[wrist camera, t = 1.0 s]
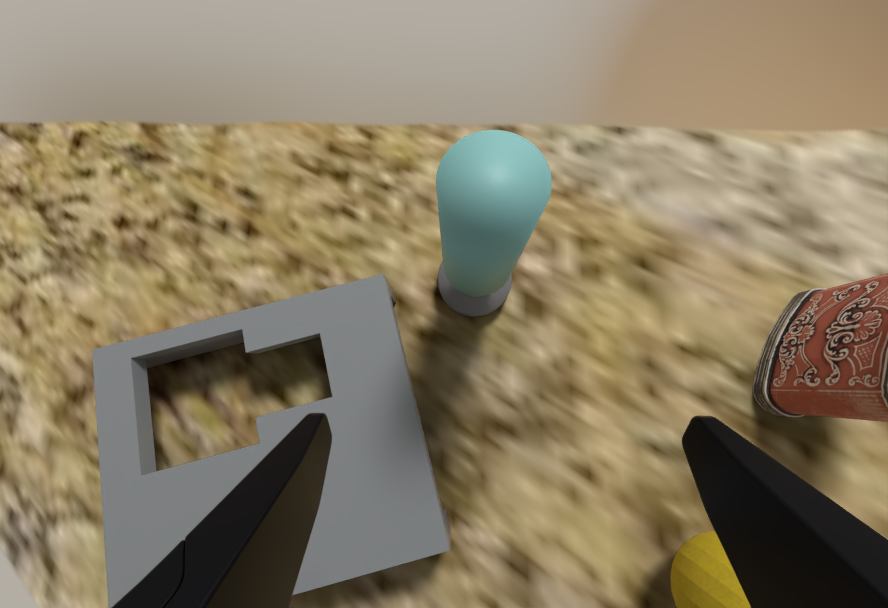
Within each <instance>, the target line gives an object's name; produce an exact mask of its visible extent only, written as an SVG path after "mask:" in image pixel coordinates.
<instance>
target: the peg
mask: <svg viewBox="0 0 888 608" xmlns="http://www.w3.org/2000/svg"><path fill="white" fill-rule="evenodd" d="M436 187H437V198H438V210H439V221H440V233H441V244H442V256H443V261H442V263H441V265H440V268H439V272H438V285H439V290H440V294H441V296H442V298H443V300H444V302H445V303H446V304H447V305H448V306H449V307H450V308H451V309H452V310H453V311H455V312H457V313H459V314H461V315H464V316H468V317H480V316H485V315H488V314H490V313H492V312H493V311H495V310H496V309H498V308H499V307H500V306H501V305H502V303H503V302H504V300H505V299H506V297H507V295H508V293H509V291H510V288H511V283H512V275H511V273H512V271H513V269H514V267H515V265H516V263H517V261H518V259H519V257H520V255H521V253H522V251H523V249H524V247H525V245H526V243H527V242H528V240H529V238H530V236H531V234H532V232H533V230H534V228H535V226H536V224H537V222H538V220H539V218H540V216H541V214H542V212H543V210H544V208H545V207H546V204H547V202H548V200H549V197H550V194H551V187H552V179H551V173H550V169H549V166H548V164H547V161H546V159H545V158H544V156H543V155H542V153H541V152H540V151H539V150H538V148H536V147H535V146H534V145H533V144H532V143H531V142H529V141H528V140H527V139H525V138H523V137H521V136H519V135H517V134H514V133H511V132H507V131H501V130H485V131H479V132H476V133H472V134H470V135H468V136H465V137H463V138H462V139H460V140H459V141H457V142H456V143H455V144H453V145H452V146H451V147H450V148H449V149H448V151H447V152H446V153H445V155H444V156H443V158H442V160H441V162H440V164H439V167H438V171H437V177H436Z"/></svg>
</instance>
